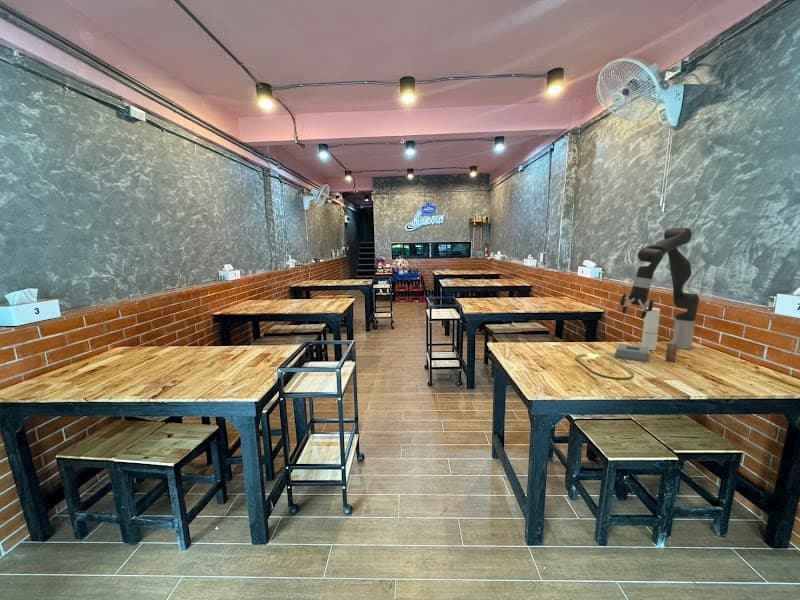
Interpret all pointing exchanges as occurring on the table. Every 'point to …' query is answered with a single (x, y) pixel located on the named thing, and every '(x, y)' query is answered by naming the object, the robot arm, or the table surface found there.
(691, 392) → the table surface
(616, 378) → the rubber band
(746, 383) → the table surface
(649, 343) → the tall white block
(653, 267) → the robot arm
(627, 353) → the socket block
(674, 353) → the walnut peg
